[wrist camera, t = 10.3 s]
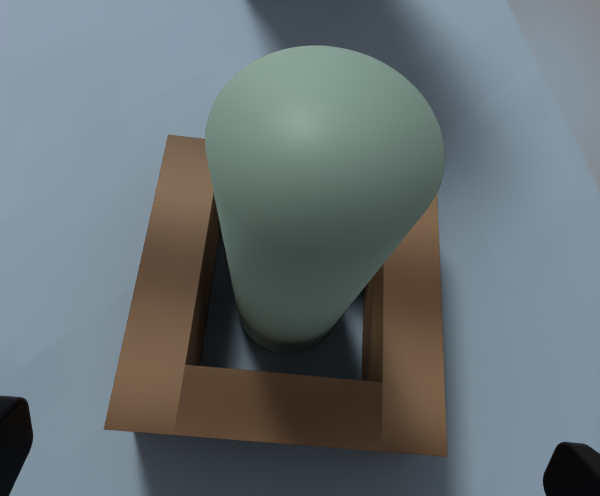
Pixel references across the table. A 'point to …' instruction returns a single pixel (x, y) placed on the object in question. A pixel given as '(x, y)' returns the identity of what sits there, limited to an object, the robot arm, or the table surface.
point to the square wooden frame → (267, 385)
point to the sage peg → (316, 184)
